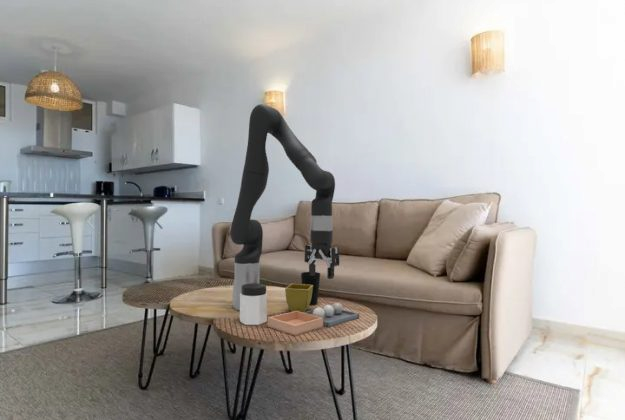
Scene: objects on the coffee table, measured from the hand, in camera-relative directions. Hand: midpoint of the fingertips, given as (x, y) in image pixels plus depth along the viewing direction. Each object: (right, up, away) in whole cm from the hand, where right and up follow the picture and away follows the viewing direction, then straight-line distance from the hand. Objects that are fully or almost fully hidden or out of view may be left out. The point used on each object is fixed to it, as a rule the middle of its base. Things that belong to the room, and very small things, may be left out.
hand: (321, 277), depth 134 cm
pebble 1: (+2, -14, +3) cm, 15 cm away
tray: (+2, -15, +3) cm, 15 cm away
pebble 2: (+6, -14, +6) cm, 17 cm away
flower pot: (-8, -15, +12) cm, 21 cm away
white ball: (-1, -14, -1) cm, 14 cm away
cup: (-4, -15, +24) cm, 28 cm away
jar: (-23, -15, -3) cm, 27 cm away
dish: (-8, -15, -8) cm, 19 cm away
